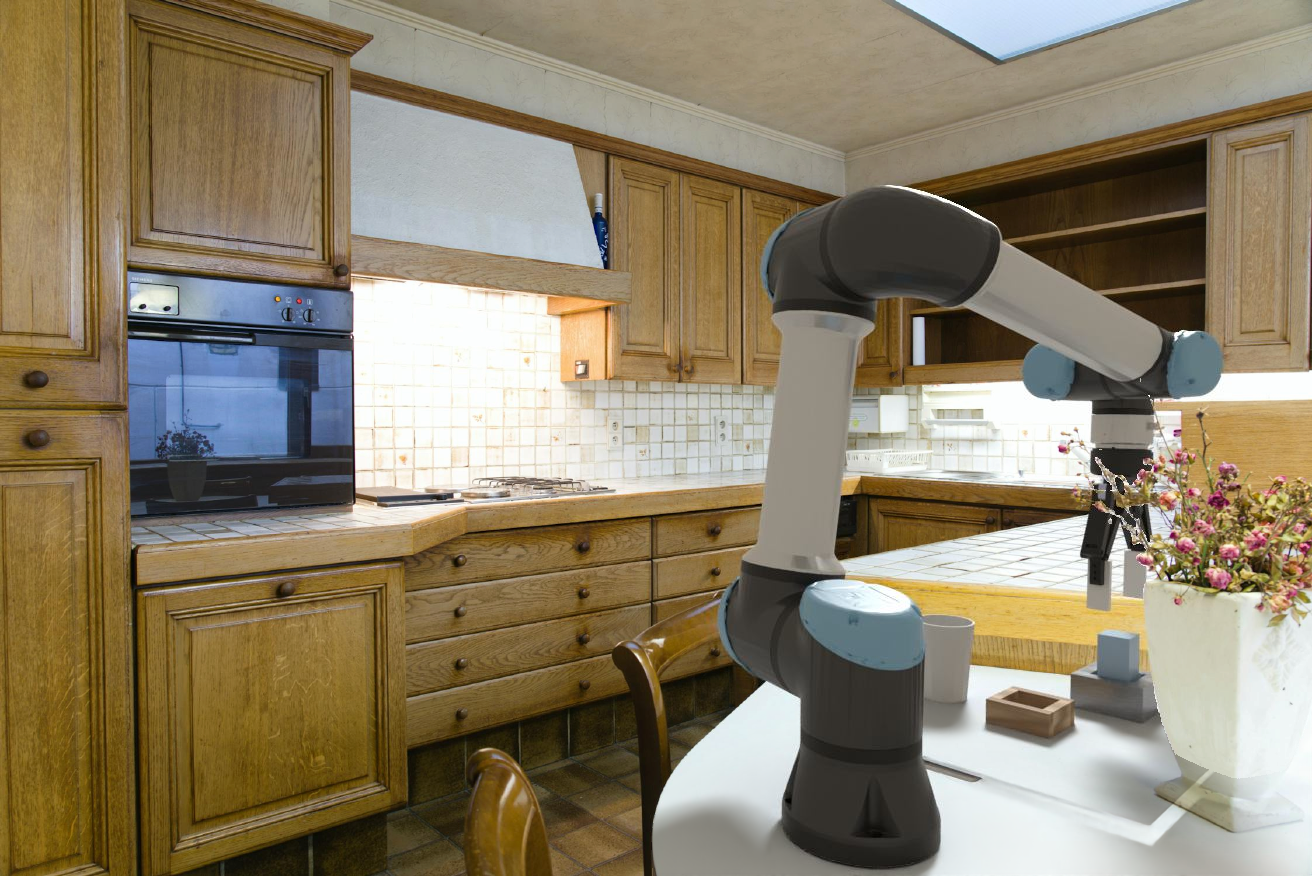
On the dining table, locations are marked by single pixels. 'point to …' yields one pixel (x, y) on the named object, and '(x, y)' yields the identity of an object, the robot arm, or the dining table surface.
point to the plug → (1118, 655)
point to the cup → (947, 657)
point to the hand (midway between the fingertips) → (1117, 603)
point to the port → (1114, 694)
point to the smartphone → (950, 772)
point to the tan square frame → (1030, 711)
